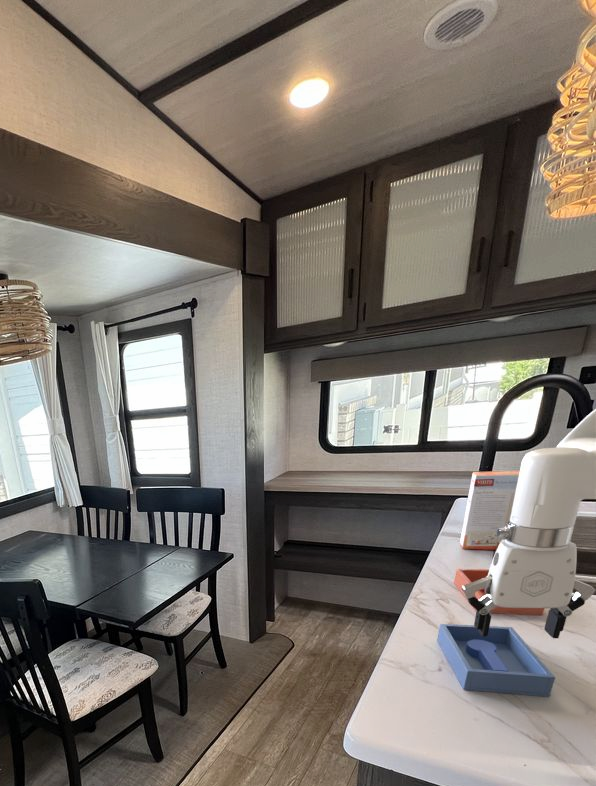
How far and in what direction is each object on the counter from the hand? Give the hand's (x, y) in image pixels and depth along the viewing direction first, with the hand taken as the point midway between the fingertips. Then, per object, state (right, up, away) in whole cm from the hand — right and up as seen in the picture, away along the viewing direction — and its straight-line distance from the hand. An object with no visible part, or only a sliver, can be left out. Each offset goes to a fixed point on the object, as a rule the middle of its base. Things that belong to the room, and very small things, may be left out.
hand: (515, 633), depth 77 cm
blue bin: (-2, -6, +4) cm, 7 cm away
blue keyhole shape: (-2, -5, +4) cm, 7 cm away
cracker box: (+36, +20, +55) cm, 69 cm away
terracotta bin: (+17, +6, +27) cm, 32 cm away
